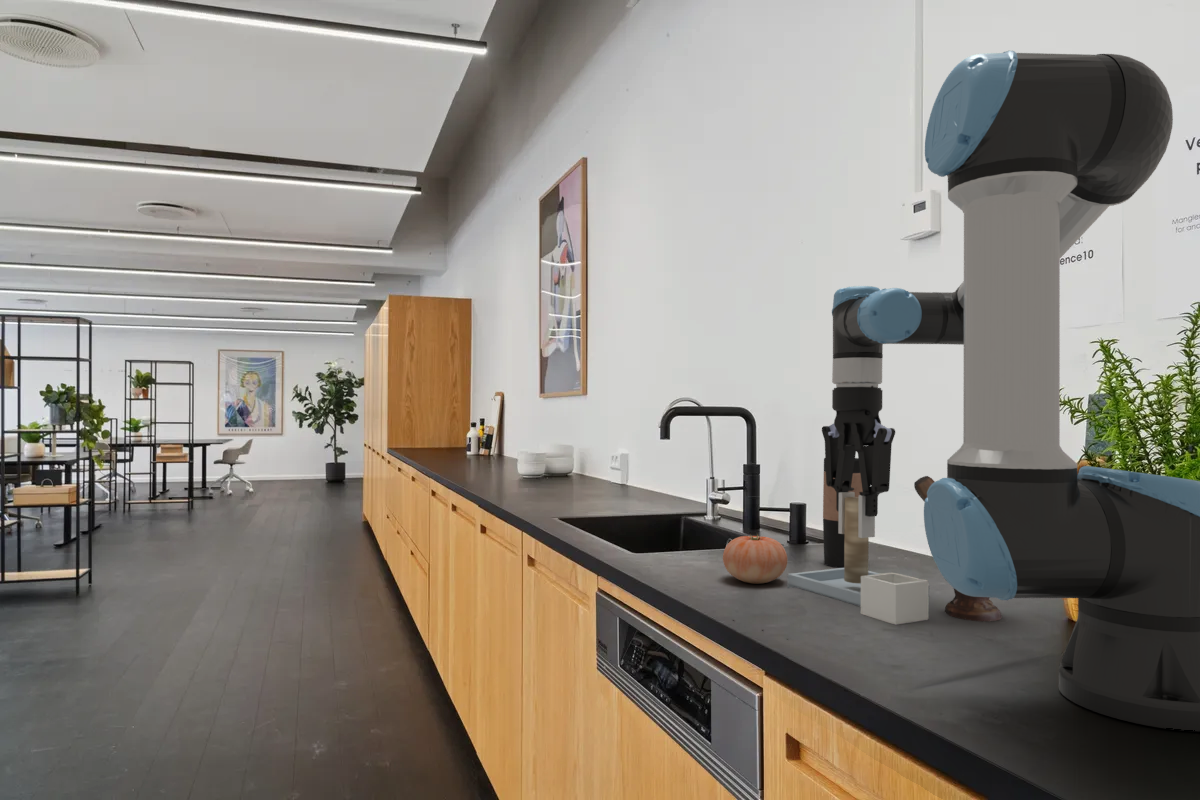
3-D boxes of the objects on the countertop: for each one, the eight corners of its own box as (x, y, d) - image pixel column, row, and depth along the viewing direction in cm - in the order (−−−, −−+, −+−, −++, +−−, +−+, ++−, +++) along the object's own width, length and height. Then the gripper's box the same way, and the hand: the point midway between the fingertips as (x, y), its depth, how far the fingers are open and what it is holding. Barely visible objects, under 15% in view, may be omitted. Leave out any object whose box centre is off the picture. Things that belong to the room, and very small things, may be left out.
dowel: (873, 582, 125) (873, 499, 125) (856, 584, 123) (856, 500, 123) (856, 577, 128) (856, 496, 128) (839, 579, 126) (839, 497, 126)
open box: (928, 625, 108) (928, 580, 108) (895, 630, 106) (895, 585, 106) (892, 614, 114) (892, 572, 114) (860, 619, 111) (860, 576, 111)
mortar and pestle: (945, 631, 106) (945, 480, 106) (905, 614, 114) (906, 474, 114) (1019, 626, 108) (1020, 479, 109) (975, 610, 117) (976, 473, 117)
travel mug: (814, 564, 151) (815, 458, 151) (836, 559, 156) (836, 456, 156) (851, 570, 145) (852, 460, 145) (872, 565, 150) (873, 458, 151)
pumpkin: (711, 583, 134) (712, 535, 134) (738, 572, 143) (738, 527, 143) (773, 591, 128) (773, 541, 128) (796, 579, 137) (797, 533, 137)
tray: (929, 602, 121) (929, 585, 122) (861, 612, 115) (861, 594, 115) (851, 581, 136) (851, 566, 136) (787, 589, 129) (787, 573, 129)
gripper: (916, 385, 120) (916, 541, 120) (837, 387, 135) (836, 526, 135) (880, 384, 117) (879, 545, 116) (802, 386, 131) (801, 529, 131)
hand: (856, 534), depth 126 cm, fingers closed on dowel, 3 cm apart
